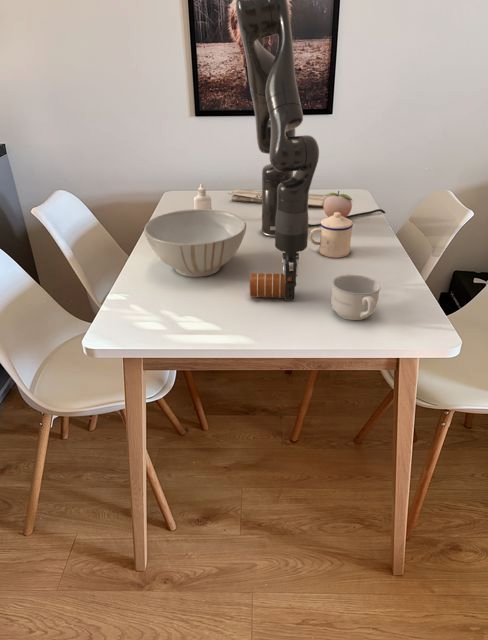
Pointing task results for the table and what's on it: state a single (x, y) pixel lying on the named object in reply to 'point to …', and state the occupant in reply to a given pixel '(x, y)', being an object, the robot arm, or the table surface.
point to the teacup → (354, 296)
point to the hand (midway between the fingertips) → (289, 291)
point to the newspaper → (257, 197)
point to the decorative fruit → (337, 204)
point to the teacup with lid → (334, 236)
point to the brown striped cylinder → (267, 285)
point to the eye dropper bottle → (202, 199)
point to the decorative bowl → (195, 239)
